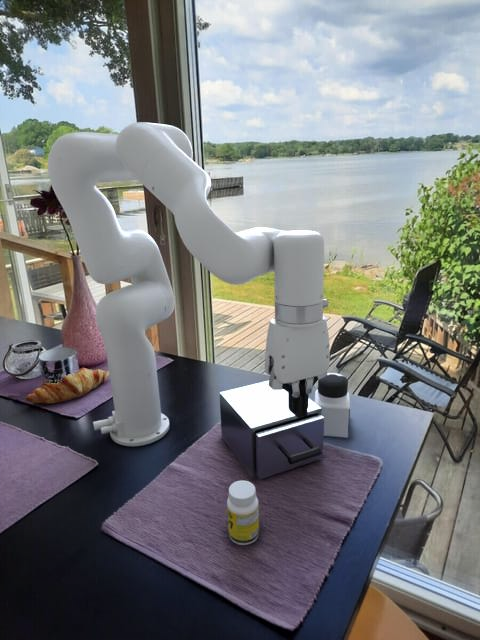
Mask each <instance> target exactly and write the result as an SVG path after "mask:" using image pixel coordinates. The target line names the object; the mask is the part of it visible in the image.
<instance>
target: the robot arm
mask: <svg viewBox="0 0 480 640" xmlns="http://www.w3.org/2000/svg"><path fill="white" fill-rule="evenodd" d="M193 153H194V152H193V147H192V143H191V141H190V139H189V136H188V135H187V134H186V133H185V132H184V131H183V130H181V129H180V128H179V127H177V126H175V125H169V124H163V123H155V122H154V123H153V122H146V121H144V122H143V121H138V122H133V123H131V124H128V125H127V126H125V127H124V128H122V130H121V131H119V133H105V132H95V131H74V132H69V133H66V134H63V135H61V136H60V137H58V138H57V139H56V140H55V141H54V142H53V144H52V145H51V148H50V149H49V153H48V158H47V172H48V177H49V178H48V179H49V182H50V185H51V187H52V190H53V191H54V194H55V196H56V199H57V200H58V201H59V203H60V206H61V207H62V209H63V211H64V214H65V215H66V218H67V219H68V223H69V225H70V227H71V231H72V233H73V236H74V238H75V241H76V244H77V247H78V249H79V252H80V256H81V258H82V261H83V263H84V265H85V268H86V271H87V273H88V274H89V276H90V278H91V279H92V280H93V281H94V282H95V283H97V284H100V285H109V284H110V285H111V284H115V283H119V282H122V281H125V280H128V279H130V282H131V284H129V285H126V286H123V287H120V288H117V289H115V290H113V291H111V292H109V293H106V294H105V295H104V296H103V297H101V298H100V300H99V301H98V302H97V305H96V307H95V315H94V316H95V321H96V324H97V327H98V329H99V332H100V336H101V338H102V342H103V345H104V349H105V350H104V351H105V354H106V360H107V367H108V372H109V379H110V380H109V381H110V387H111V393H112V400H113V401H112V402H113V409H114V410H112V411H111V414H112V415H110V416H107V418H106V419H105V418H104V419H99V420H96V421H95V420H94V421H92V425H93V430H94V432H96V431H100V433H101V435H105V434H108V433H109V435H110V439H111V440H112V441H113V442H114V443H116V444H117V445H120V446H125V447H141V446H146V445H150V444H152V443H155V442H157V441H159V440H160V439H162V438H163V437H164V436H165V435H167V433H168V432H169V430H170V419H169V417H168V416H167V415H165V414H164V413H162V407H161V397H160V390H159V389H160V388H159V378H158V370H157V360H156V352H155V349H154V347H153V344H152V343H151V342H150V340H149V338H148V337H147V335H146V331H147V330H149V329H150V328H152V327H155V326H156V325H158V324H161V323H162V322H163V321H165V320H167V319H169V317H170V316H171V315H172V314H173V312H174V309H175V307H176V305H175V304H176V301H175V300H176V299H175V293H174V289H173V287H172V284H171V280H170V278H169V274H168V272H167V268H166V266H165V263H164V260H163V259H164V258H163V256H162V254H161V251H160V249H159V246H158V244H157V242H156V241H155V239H154V238H153V237H152V236H151V234H149V233H148V232H146V231H145V230H142V229H139V228H128V229H122V228H121V226H120V223H119V221H118V218H117V215H116V212H115V209H114V207H113V205H112V204H111V202H110V200H109V199H108V198H107V197H106V196H105V194H104V193H102V191H101V190H100V189H99V188H98V187H97V183H112V182H113V183H114V182H128V181H138V182H139V183H141V184H142V185H143V186H144V187H145V188H146V189H147V190H148V191H149V192H150V193H151V194H152V195H153V196H154V197H155V198H157V199H158V200H159V201H160V203H162V205H164V206H165V207H166V208H167V209H168V210H169V211H170V212H171V213H172V214H173V217H174V223H175V227H176V230H177V232H178V234H179V236H180V239H181V241H182V243H183V245H184V246H185V248H186V250H188V252H189V253H190V254H191V255H192V256H193V257H194V258H195V260H197V261H198V262H199V263H200V264H201V265H202V266H203V267H204V269H206V270H207V271H208V272H210V273H211V274H212V276H214V277H215V278H217V279H219V280H220V281H222V282H224V283H226V284H229V285H234V286H239V285H246V284H247V283H250V282H251V281H253V280H255V279H257V278H259V277H262V276H265V275H267V274H270V273H271V274H272V273H273V282H274V283H273V284H274V285H273V286H274V318H271V319H270V320H269V323H268V328H267V334H266V340H265V352H264V353H265V355H264V368H265V369H264V370H265V373H266V374H267V375H268V376H269V378H268V379H269V380H268V381H269V383H268V385H269V387H270V388H272V389H273V390H282V389H284V390H286V391H287V392H288V407H289V410H290V411H291V412H292V413H293V414H294V415H295V416H297V417H298V418H301V417H302V416H304V417H305V416H307V409H308V400H309V399H310V397H309V395H311V393H312V392H313V387H314V386H315V385H316V383H318V380H320V379H322V378H324V377H325V376H327V373H328V371H329V368H330V360H331V353H330V352H331V348H330V335H329V329H328V321H327V319H326V316H325V315H324V309H325V308H328V307H329V300H328V299H326V298H324V281H325V280H324V278H325V277H324V274H325V272H324V271H325V240H324V237H323V235H322V234H321V233H320V232H318V231H315V230H306V229H305V230H304V229H298V230H297V229H296V230H283V229H276V228H271V227H265V226H264V227H263V226H258V227H252V228H249V229H244V230H241V231H238V232H236V231H234V230H233V229H232V227H230V226H229V225H228V224H227V223H226V222H224V221H223V220H222V219H221V218H220V217H219V216H218V215H217V214H216V213H215V212H214V210H213V209H212V206H210V204H209V202H208V200H207V198H208V195H209V193H210V192H211V187H212V181H211V178H210V175H209V174H208V172H206V170H204V169H203V168H202V167H201V166H200V165H198V163H197V162H195V161H194V160H193Z"/></svg>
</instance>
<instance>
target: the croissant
mask: <svg viewBox="0 0 480 640" xmlns="http://www.w3.org/2000/svg"><path fill="white" fill-rule="evenodd" d="M77 370H78V374H75V373H72V374H68V375H67V376H65V377H63V378H62V380H61V381H62V382H60V383H59V382H57V383H50V382H49V383H47V382H45V381H43V382H42V383H41V386H40V387H36V388H35V389H34V390H32V391H31V392H30V394H27V395H25V396H26V397H25V398H26V400H27V402H29V403H32V404H33V403H34V404H41V403H42V404H46V405H47V404H48V405H49V404H55V403H61V402H66V401H71V400H72V399H75V398H79V397H83V396H84V395H85V394H88V392H90V391H91V390H93V389H95V388H97V387H98V386H99V385H101V384H102V383H103V384H104V382H105V381H107V380H108V379H109V378H110V374H109V370H102V369H99V368H96V369H94V370H93V369H88V368H85V367H84V366H83V367H81V368H79V369H77Z"/></svg>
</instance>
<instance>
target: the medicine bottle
mask: <svg viewBox="0 0 480 640" xmlns="http://www.w3.org/2000/svg"><path fill="white" fill-rule="evenodd" d="M348 387H349V380H348V378H347V377H346V376H344V375H343V374H341V373H336V372H327V376H325V377H324V378H322V379H320V380H317V389H315V391H314V392H315V393H314V401H313V402H314V403H316V404H317V405H318V406H320V407H321V408H322V416H323V417H324V437H334V438H345V439H347V438H349V436H350V420H351V418H350V417H351V399H350V398H351V397H350V392H349V390H348V389H349V388H348Z"/></svg>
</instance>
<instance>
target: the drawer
mask: <svg viewBox="0 0 480 640" xmlns="http://www.w3.org/2000/svg"><path fill="white" fill-rule="evenodd" d="M324 438H325V436H324V417H323V416H322V415H318V416H314V417H313V414H312V415H309V416H306V417H302V418H299V419H295V420H292V421H288V422H285V423H281V424H278V425H274V426H271V427H267V428H264V429H260V430H257V431H255V446H256V470H257V478H258V479H259V480H262V479H266V478H268V477H271V476H274V475H277V474H281V473H283V472H286V471H289V470H292V469H295V468H298V467H302V466H304V465H307V464H310V463H313V462H316V461H319V460H321V459H323V458H324Z"/></svg>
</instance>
